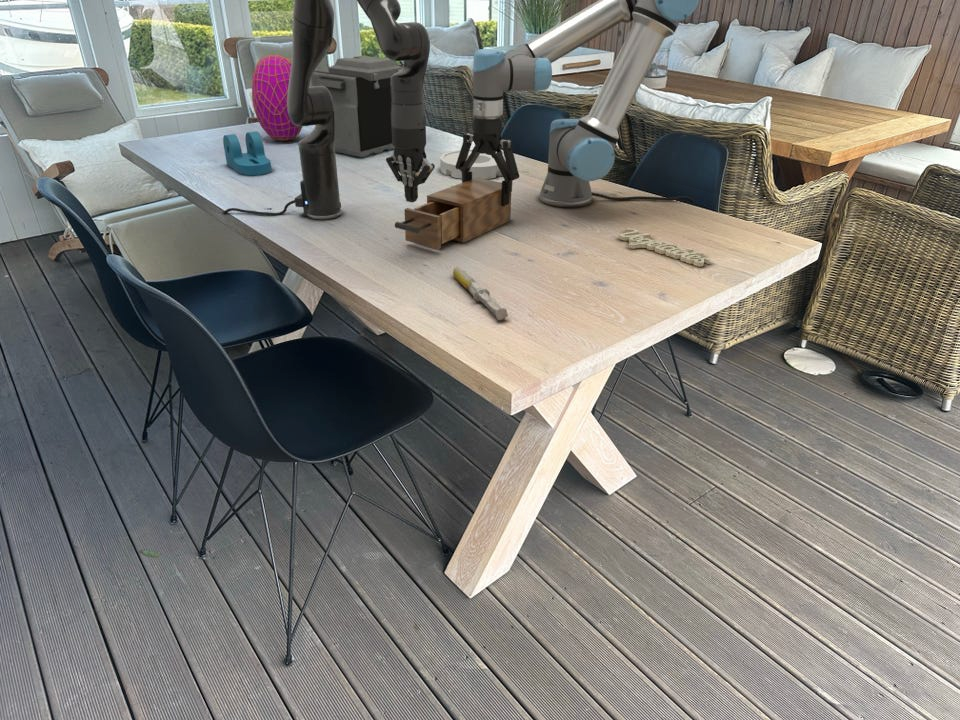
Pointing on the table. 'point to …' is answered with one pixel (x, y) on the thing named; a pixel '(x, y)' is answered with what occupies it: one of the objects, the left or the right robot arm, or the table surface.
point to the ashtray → (480, 169)
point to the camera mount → (246, 154)
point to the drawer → (431, 224)
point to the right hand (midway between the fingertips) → (486, 200)
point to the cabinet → (475, 206)
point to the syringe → (479, 293)
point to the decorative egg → (273, 97)
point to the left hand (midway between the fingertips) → (411, 201)
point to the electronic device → (360, 103)
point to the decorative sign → (663, 247)
